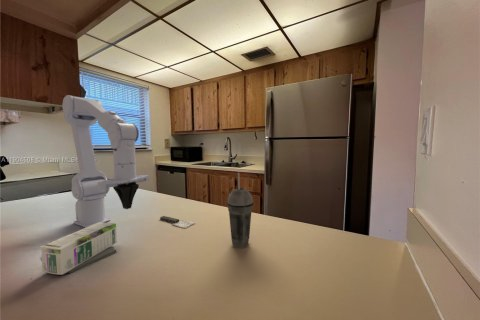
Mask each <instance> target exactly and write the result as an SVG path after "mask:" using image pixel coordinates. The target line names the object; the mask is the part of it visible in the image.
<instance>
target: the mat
mask: <svg viewBox="0 0 480 320" xmlns="http://www.w3.org/2000/svg"><path fill="white" fill-rule="evenodd" d="M116 253H117V249H115V248H113V247H112V246H111V247H109V248H107V249H105V250H104V251H102V252H100V253H98V254H97V255H95V256H93V257H92V258H90V259H88V260H87V261H85V262H83V263H82V264H80V265H78V266H77V267H75V268H73V269H72V270H70V271H68V272H67V273H68V274H72V273H75V272H77V271H78V270H81V269H83V268H85V267H87V266H90V265H91V264H94V263H95V262H98V261H100V260H103V259H105V258H106V257H109V256H111V255H113V254H116Z"/></svg>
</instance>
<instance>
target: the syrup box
mask: <svg viewBox="0 0 480 320" xmlns="http://www.w3.org/2000/svg"><path fill="white" fill-rule="evenodd" d="M117 243H118V239H117V223H114V222H113V223H112V222H104V223H103V222H98V223H96V224H94V225H91V226H89V227H87V228H85V227H83V228H82V229H79V230H77V231H75V232H73V233H70V234H68V235H66V236H65V235H64V236H63V237H60V238H58V239H55V240H53V241H51V242H48V243H46V244H44V245H41V246H40V251H41V271H42V272H43V273H47V274H52V275H64V274H67V273H68V271H70V270H72V269H73V268H75V267H77V266H78V265H80V264H82V263H83V262H85V261H87V260H88V259H90V258H92V257H93V256H95V255H97V254H98V253H100V252H102V251H104V250H105V249H107V248H109V247H111V248H112V246H114V245H116V244H117Z"/></svg>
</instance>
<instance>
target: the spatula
mask: <svg viewBox="0 0 480 320" xmlns="http://www.w3.org/2000/svg"><path fill="white" fill-rule="evenodd" d="M159 218H160V219H159V220H160V221H163V222H167V223H172V224H171V225H172V226H174V227H176V228H177V227H178V228H182V229H187V228H190V227H192V226H194V225H195V224H196V221H195V222H193V221H190V220H187V219H186V220H185V219H181V220H180V219H179V218H174V217H171V216H167V215H162V216H160V217H159Z"/></svg>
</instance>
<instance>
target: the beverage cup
mask: <svg viewBox="0 0 480 320" xmlns="http://www.w3.org/2000/svg"><path fill="white" fill-rule="evenodd" d="M240 177H241V175H240V172H237V188H235V189H233V190H232V191H231V192H230V193H229V195H228V198H227V201H226V205H227V209H228V215H229V224H230V225H229V227H230V236H231V244H232V246H233V247H235V248H237V249H241V248H242V249H243V248H246V247H248V246H249V241H250V234H251V233H250V232H251V222H252V212H253V208H254V207H253V205H254V200H253V196H252V193H250V191H249V190H248V189H245V188H244V187H243V188H242V187H241V181H240V180H241V179H240Z"/></svg>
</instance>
